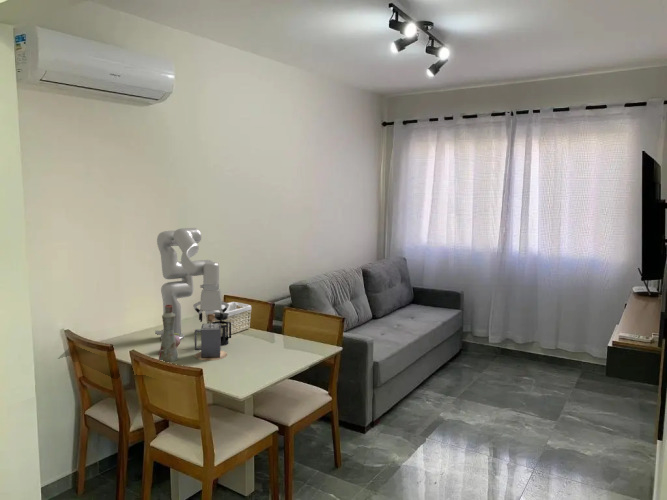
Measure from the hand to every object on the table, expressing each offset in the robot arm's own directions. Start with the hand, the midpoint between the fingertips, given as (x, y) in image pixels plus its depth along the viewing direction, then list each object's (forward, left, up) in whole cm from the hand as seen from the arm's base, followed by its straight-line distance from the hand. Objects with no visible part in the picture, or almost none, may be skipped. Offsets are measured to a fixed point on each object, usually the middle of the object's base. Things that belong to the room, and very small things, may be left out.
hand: (211, 321), depth 252 cm
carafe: (-2, 0, -17) cm, 18 cm away
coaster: (0, 0, -18) cm, 18 cm away
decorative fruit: (-21, +11, -18) cm, 30 cm away
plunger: (0, 0, -16) cm, 16 cm away
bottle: (-20, -4, -18) cm, 28 cm away
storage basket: (+7, +46, -19) cm, 50 cm away
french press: (+4, +19, -18) cm, 27 cm away
